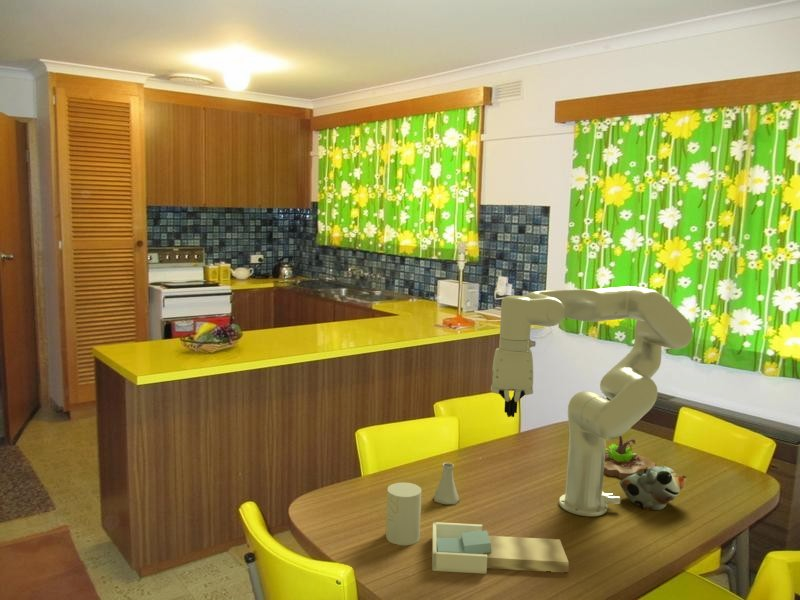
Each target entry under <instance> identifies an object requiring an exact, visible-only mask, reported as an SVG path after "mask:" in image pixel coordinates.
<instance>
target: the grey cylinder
mask: <svg viewBox="0 0 800 600" xmlns="http://www.w3.org/2000/svg"><path fill="white" fill-rule="evenodd" d="M386 490H387V492H386V493H387V495H386V520H385V521H386V525H385V526H386V528H385V539H386V538H387V539H386V540H387V541H388V542H389V543H391V544H394V545H396V544H397V546H410V545H414V544H416V543H417V542H419V540H420V539H421V537H420V535H421V514H422V513H421V511H422V487H420V486H419V485H417V484H415V483H412V482H395V483H393V484H390V485H388V486H387V489H386Z"/></svg>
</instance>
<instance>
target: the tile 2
mask: <svg viewBox="0 0 800 600" xmlns="http://www.w3.org/2000/svg"><path fill="white" fill-rule="evenodd" d="M461 535H462V541H463V546H464V551H465V553H467V554H481V553H490V552H492V551H491V542H490V539H489V536H490V535H489V533H488V530H487V529H486V530H482V531H476V532H466V533H461Z"/></svg>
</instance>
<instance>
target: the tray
mask: <svg viewBox="0 0 800 600" xmlns="http://www.w3.org/2000/svg"><path fill="white" fill-rule="evenodd" d="M476 531H483V524H474V523H460V522H459V523H456V522H440V521H433V522H432V531H431V532H432V533H431V534H432V535H431V537H432V539H431V540H432V541H431V542H432V544H431V545H432V546H431V547H432V548H431V549H432V551H431V557H432V562H431V563H432V564H431V568H432V571H433V572H450V573H451V572H452V573H470V574H487V572H488V570H487V569H488V568H487V555H485V554H484V553H481V554H467V553H449V552H437V541H436V538H459V539H462V535H461V533H466V532H476Z"/></svg>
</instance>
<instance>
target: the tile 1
mask: <svg viewBox="0 0 800 600" xmlns="http://www.w3.org/2000/svg"><path fill="white" fill-rule="evenodd" d="M436 541H437V552H449V553H465V551H464V546H463V541H462V539H459V538H436Z"/></svg>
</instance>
